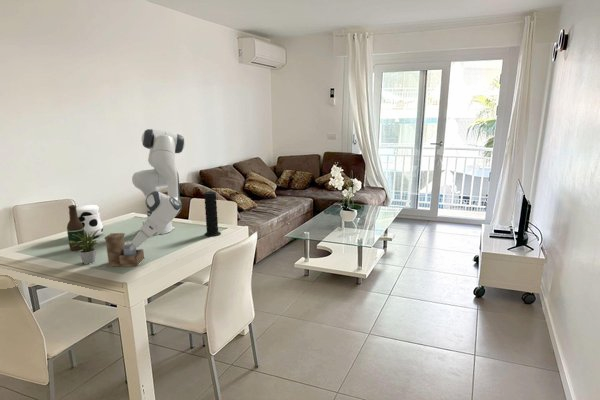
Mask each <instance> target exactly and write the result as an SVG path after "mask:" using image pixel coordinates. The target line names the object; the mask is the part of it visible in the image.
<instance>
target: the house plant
mask: <svg viewBox="0 0 600 400" xmlns="http://www.w3.org/2000/svg"><path fill="white" fill-rule="evenodd" d="M100 230H101V229H100ZM98 231H99V230H97V231H96V232H95V233H94V234H93V235H92V238H90V236H89V233H88V238H87V233H86V231H85V230H84V237H83V236H82V235H81V234H80V235H81V236H82V237H83V238H81V237H80V236H78V235H76V236H77V237H78V238H79V239H80V240H81V241H83V242H82V243H83V244H84V245H83V244H81V243H79V242H75V241H69V240H68V243H69V242H72V243H74V244H76V245H73V246H79V247H81V248H82V250H78V252H79V255H80V258H81V260H82V264H83V263H84V264H83V265H89V264H88V263H91V264H94V263H95V262H96V251H97V249H96V248H95V247H93V246H94V245H97V244H99V243H98V242H99V240H95V238H97V237H96V236H95V237H94V235H95V234H96V233H97V232H98ZM93 232H94V231H93ZM91 233H92V232H91ZM78 234H79V233H78ZM72 235H75V234H72ZM90 235H91V234H90ZM93 237H94V238H93ZM73 238H74V237H73ZM89 238H90V239H89ZM97 241H98V242H97ZM73 246H72V247H73ZM93 262H94V263H93Z"/></svg>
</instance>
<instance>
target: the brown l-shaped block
mask: <svg viewBox="0 0 600 400" xmlns="http://www.w3.org/2000/svg"><path fill="white" fill-rule="evenodd" d="M104 240H105V244H106V252H107V261H108V262H107V264H106V267H107V266H121V267H138V266H139V265H140V264H141V263H142V262H143V261H144V260H145V255H144V254H145V253H144V249H142V248H141V249H136V253H137V254H136V255H125V253H124V246H125V245H126V242H125V232H118V233H117V232H116V233H114V232H113V233H112V232H111V233H109V234H108V235H106V236H105V237H104ZM143 259H144V260H143ZM142 260H143V261H142ZM141 261H142V262H141ZM140 262H141V263H140ZM139 263H140V264H139ZM138 264H139V265H138ZM137 265H138V266H137Z"/></svg>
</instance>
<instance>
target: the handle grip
mask: <svg viewBox="0 0 600 400" xmlns="http://www.w3.org/2000/svg"><path fill="white" fill-rule="evenodd" d="M203 194H204V198H203V199H204V206H205V207H204V209H205V224H206V225H205V227H206V232H205V233H204V234H203V236H204V237H208V238H209V237H211V238H213V237H218V236H221V235H222V232H220V231H219V222H218V219H219V218H218V206H217V191H216V192H215V191H211V190H209V191H205V192H204V193H203Z"/></svg>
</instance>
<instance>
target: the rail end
mask: <svg viewBox="0 0 600 400" xmlns="http://www.w3.org/2000/svg"><path fill="white" fill-rule="evenodd" d="M131 246H132V243H131V242H130V243H125V246H124V253H125V255H136V254H137V253H136V250H137V247H135V248H134V249H133V250H130V249H129V248H130V247H131Z"/></svg>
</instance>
